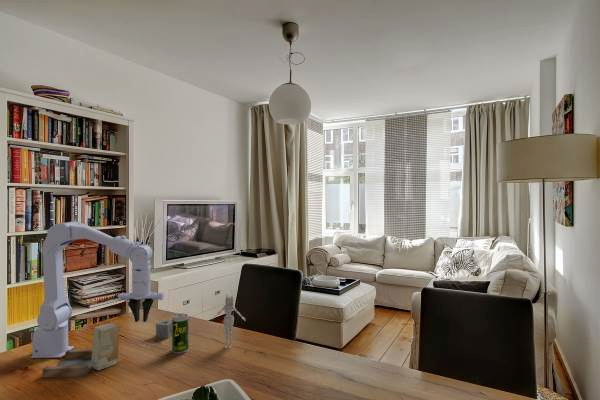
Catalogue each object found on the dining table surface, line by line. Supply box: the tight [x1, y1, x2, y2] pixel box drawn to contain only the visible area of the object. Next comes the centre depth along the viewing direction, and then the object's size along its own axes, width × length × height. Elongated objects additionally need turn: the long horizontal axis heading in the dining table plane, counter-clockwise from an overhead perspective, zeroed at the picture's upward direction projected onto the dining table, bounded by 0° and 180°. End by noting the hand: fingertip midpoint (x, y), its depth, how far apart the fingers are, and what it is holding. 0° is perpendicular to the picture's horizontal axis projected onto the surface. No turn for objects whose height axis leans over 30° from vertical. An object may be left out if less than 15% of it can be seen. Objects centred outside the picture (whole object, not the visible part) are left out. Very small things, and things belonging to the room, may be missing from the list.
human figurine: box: [212, 294, 246, 349], centre depth 129 cm, size 12×4×18 cm, turn 83°
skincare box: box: [91, 322, 121, 371], centre depth 114 cm, size 6×4×12 cm
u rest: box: [42, 348, 95, 378], centre depth 113 cm, size 12×13×2 cm
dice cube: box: [155, 319, 172, 339], centre depth 138 cm, size 5×5×5 cm
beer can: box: [171, 312, 190, 355], centre depth 125 cm, size 5×5×12 cm
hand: (141, 320), depth 124 cm, fingers closed
